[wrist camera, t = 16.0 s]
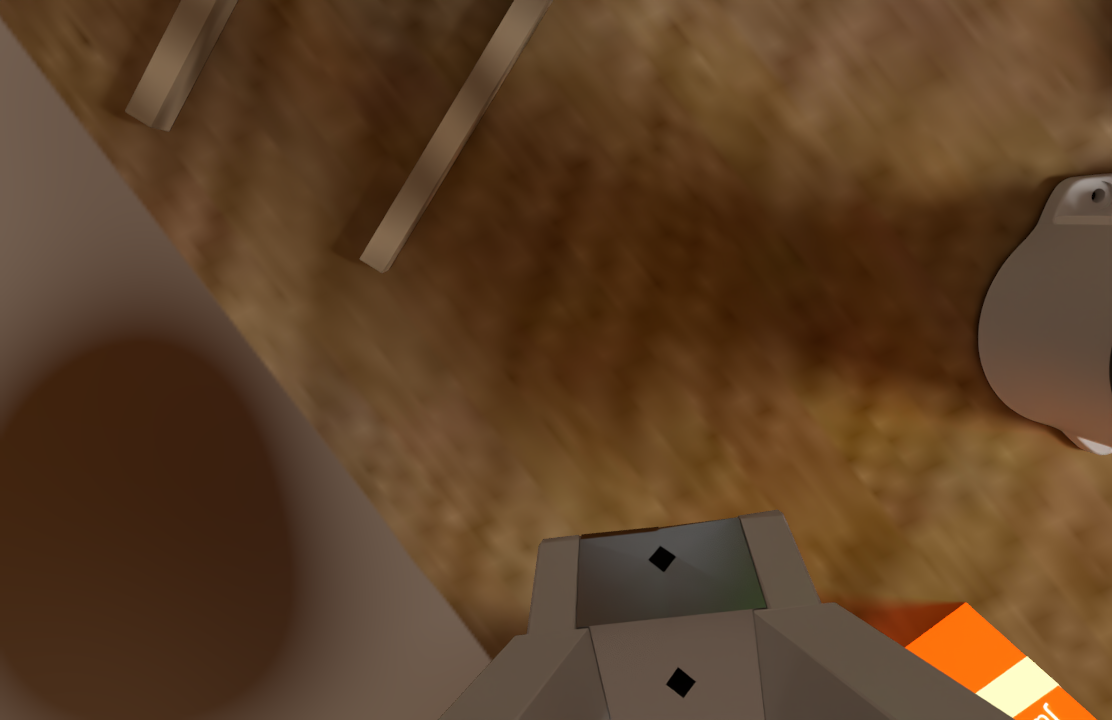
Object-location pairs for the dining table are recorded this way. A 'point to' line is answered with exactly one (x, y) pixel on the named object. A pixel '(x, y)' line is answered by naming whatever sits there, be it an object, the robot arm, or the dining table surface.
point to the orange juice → (994, 668)
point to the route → (194, 39)
